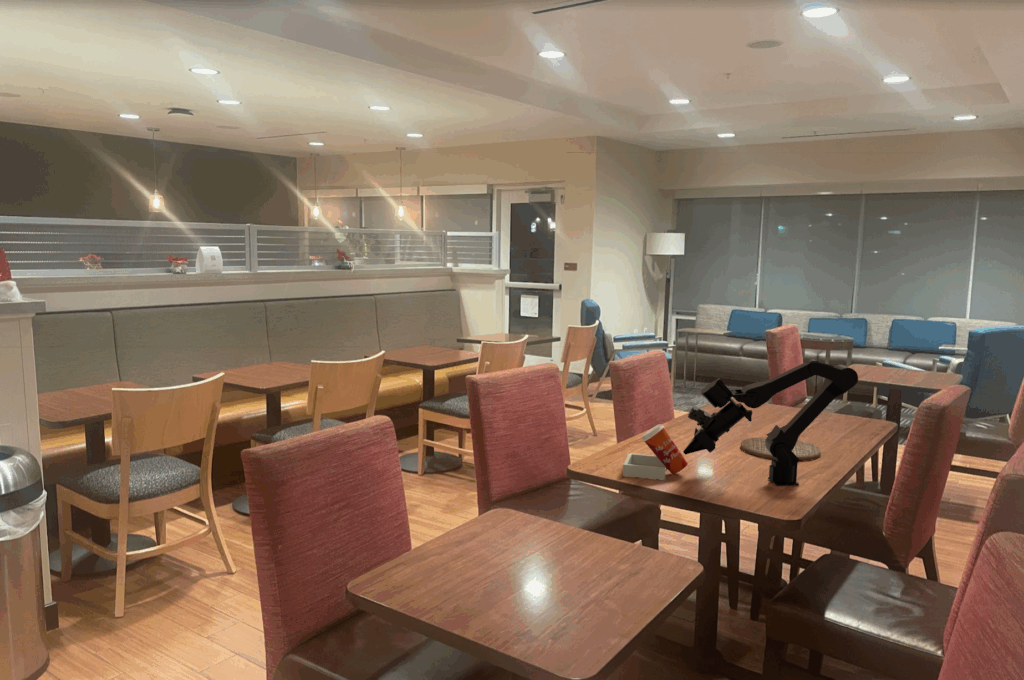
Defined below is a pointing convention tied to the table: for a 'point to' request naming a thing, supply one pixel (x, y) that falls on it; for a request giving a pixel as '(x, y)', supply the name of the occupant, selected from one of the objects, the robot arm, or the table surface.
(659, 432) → the paper cup
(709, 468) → the table surface
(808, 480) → the table surface
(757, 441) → the trivet
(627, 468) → the tray
